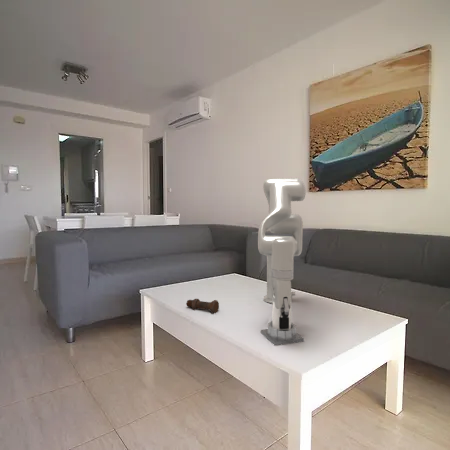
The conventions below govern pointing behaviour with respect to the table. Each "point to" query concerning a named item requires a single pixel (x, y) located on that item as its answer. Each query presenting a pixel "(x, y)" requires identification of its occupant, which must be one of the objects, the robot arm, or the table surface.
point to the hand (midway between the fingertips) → (281, 324)
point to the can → (276, 317)
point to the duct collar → (281, 335)
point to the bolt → (203, 305)
